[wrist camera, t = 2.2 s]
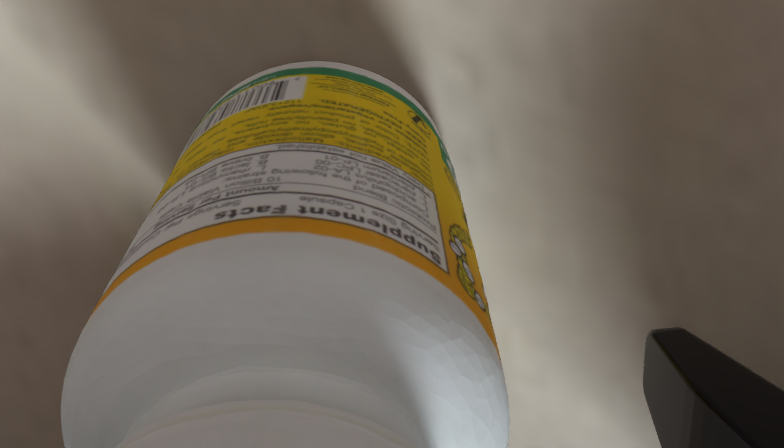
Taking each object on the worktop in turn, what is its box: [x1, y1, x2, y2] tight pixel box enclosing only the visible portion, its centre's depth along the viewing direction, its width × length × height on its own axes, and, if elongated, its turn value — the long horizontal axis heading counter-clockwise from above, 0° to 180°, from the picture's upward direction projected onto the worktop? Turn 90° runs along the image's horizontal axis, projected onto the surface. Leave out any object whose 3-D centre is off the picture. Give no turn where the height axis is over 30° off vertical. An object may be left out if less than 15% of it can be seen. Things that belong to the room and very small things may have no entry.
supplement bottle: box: [61, 61, 510, 448], centre depth 10 cm, size 5×5×10 cm
